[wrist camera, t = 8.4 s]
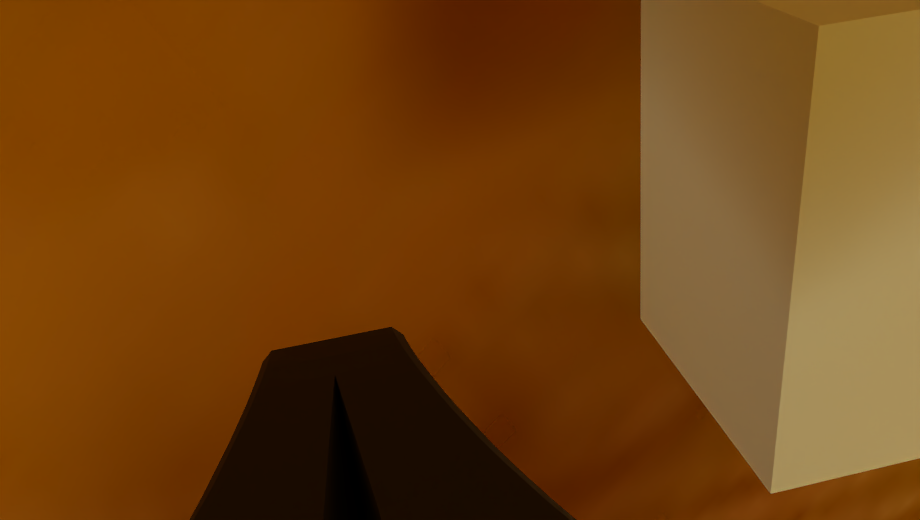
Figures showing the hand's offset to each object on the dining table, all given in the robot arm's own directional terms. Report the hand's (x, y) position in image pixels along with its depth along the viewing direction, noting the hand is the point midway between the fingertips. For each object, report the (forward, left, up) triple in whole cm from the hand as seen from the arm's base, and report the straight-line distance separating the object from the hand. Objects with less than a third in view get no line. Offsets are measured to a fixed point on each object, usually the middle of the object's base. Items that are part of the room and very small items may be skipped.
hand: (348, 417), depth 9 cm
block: (0, -9, -5) cm, 10 cm away
